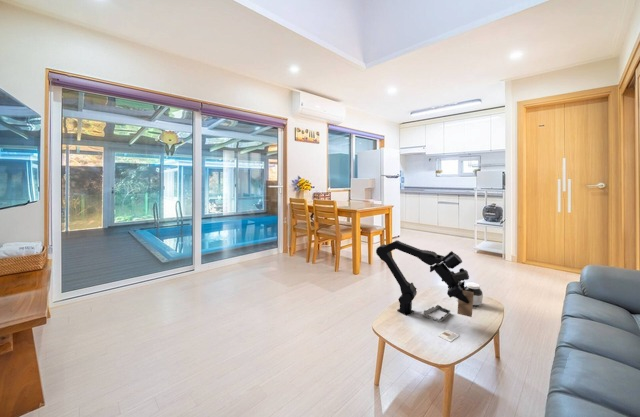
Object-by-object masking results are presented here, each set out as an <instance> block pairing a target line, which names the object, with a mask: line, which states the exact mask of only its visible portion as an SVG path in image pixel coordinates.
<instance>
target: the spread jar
mask: <svg viewBox="0 0 640 417" xmlns="http://www.w3.org/2000/svg"><path fill="white" fill-rule="evenodd" d="M464 287H465V288H466V290H467V291H470V292H474V295H473V308H476V307H477V308H478V307H479V306H481V304H482V303H483V297H484V296H483V295H484V294H483V291H482V289H481V288H480V287H481V285H480V284H479V283H477V282H473V281H471V282H470V281H469V282H465V286H464ZM456 302H457V303H458V299H457V298H456Z"/></svg>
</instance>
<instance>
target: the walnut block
mask: <svg viewBox="0 0 640 417" xmlns="http://www.w3.org/2000/svg"><path fill="white" fill-rule="evenodd" d="M463 293H464V295H465V296H466V298H467V299H468V301H469V303H468V304H467V303H465V302H463V301H461V300H459V299H458V302H457V311H456V312H457V314H458V315H461V316H466V317H470V318H472V316H473V308H474V307H473V295H474V292H470V291H465V290H463Z"/></svg>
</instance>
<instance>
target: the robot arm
mask: <svg viewBox="0 0 640 417" xmlns="http://www.w3.org/2000/svg"><path fill="white" fill-rule="evenodd" d="M395 250H398V251H400V252H403V253H406V254H407V255H410V256H413V257H414V258H417V259H419V260H420V261H421V262H423V263H424V264H426V265H428V266H429V268H430V269H429V272H430V273H432V272H435V273H436V274H437V276H439V277H440V278H441V282H443V283H445V284H446V285H447V295H448V297H449V298H450V299H451V298H455V299H456V300H457V299H459V300H461V301H463V302H465V303H467V304H468V303H469V301H468V299H467V298H466V296H465V295H464V293H463V290H465V291H467V290H466V288H465V287H466V286H465V284H466V282H465V281H468V280H469V279H470V275H469V272H468V271H467V270H466V269H465V268H460V269H459V271H457V272H455V271H453V269H455V268H456V267H457V266H459V265H461V264H462V263H463V260H462V258H461V257H460V255H458V254H457V253H455V252H453V250H451V251H450V252H448V253H447V254H446V255H440V254H437V253H436V252H435V251H431V250H426V249H420V248H417V247H415V246H412V245H409V244H407V243H405V242H402V241H400V240H394V241H393V242H389V243H388V244H381V245H380V246H377V248H376V250H375V253H376V255H377V257H378V258H380V260H382V261H383V262H384V263H385V264H386V266H387V267H388V269H389V271H390V272H391V274H392V276H393V277H394V279H395V280H396V282H397V284H398V285H399V288H400V292H401V295H400V296H399V298H398V303H399V308H398V309H397V312H398V313H400V314H402V315H405V316H409V315H412V314H413V313H415V311H414V310H412V308H413V307H412V306H413V300H414V299H415V298H416V295H417V293H418V292H417V290H418V288H417V287H416V286H415V285H414V283H413V282H409V281H407V279H406V277H405V276H404V274H403V272H402V271H401V269H400V267H399V266H398V264H397V263H396V260H395V259H394V258H393V255H392V254H393V253H392V251H395ZM451 269H452V270H451Z"/></svg>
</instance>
